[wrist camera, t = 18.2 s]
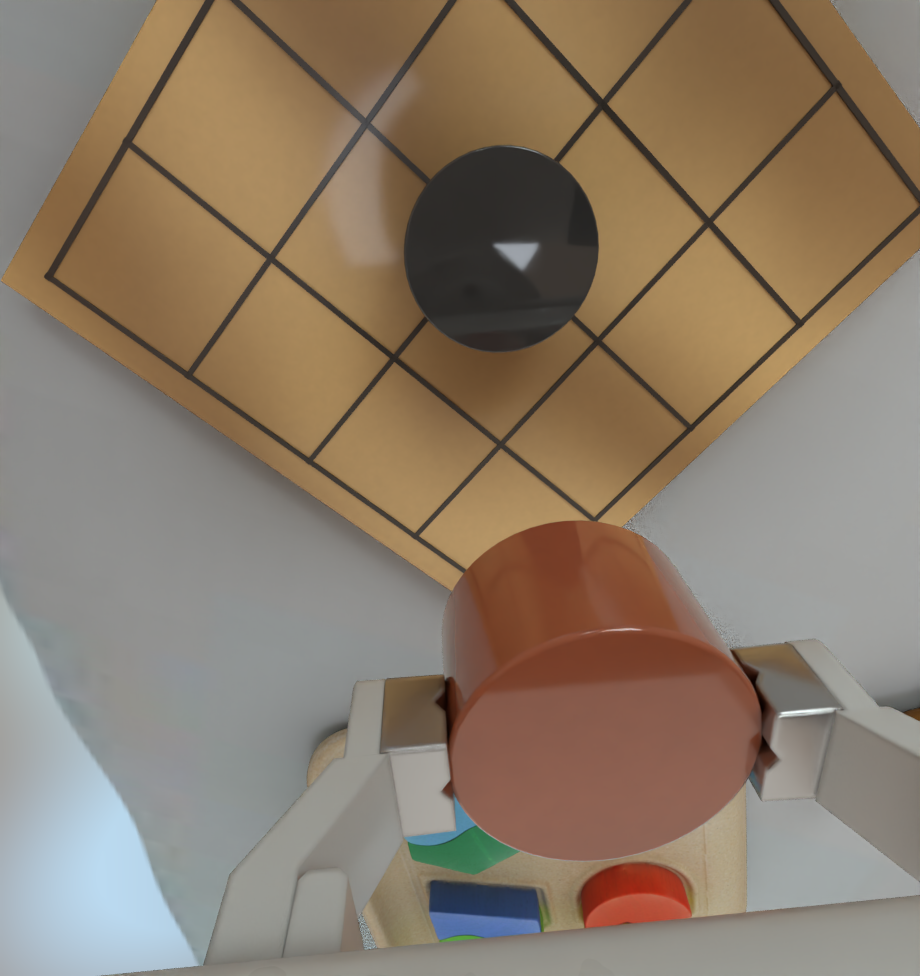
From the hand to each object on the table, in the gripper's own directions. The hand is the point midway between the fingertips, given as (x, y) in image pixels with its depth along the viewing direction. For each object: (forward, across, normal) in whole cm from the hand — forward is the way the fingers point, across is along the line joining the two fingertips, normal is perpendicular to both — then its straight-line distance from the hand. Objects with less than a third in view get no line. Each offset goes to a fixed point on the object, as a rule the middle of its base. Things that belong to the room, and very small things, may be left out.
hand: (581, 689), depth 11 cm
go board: (+13, 0, -6) cm, 14 cm away
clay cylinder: (+2, 0, 0) cm, 2 cm away
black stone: (+11, 0, -6) cm, 13 cm away
